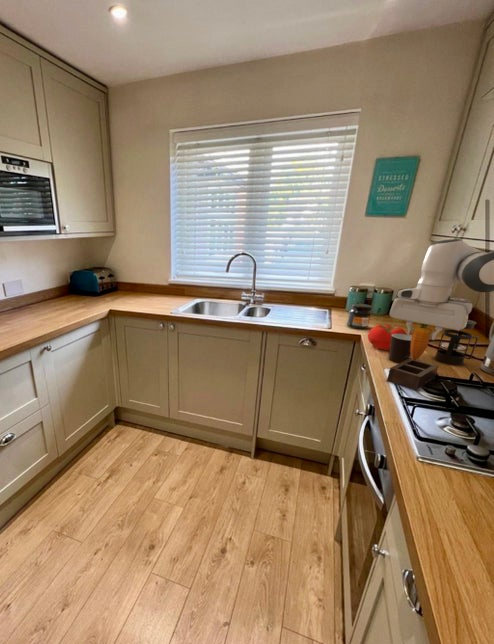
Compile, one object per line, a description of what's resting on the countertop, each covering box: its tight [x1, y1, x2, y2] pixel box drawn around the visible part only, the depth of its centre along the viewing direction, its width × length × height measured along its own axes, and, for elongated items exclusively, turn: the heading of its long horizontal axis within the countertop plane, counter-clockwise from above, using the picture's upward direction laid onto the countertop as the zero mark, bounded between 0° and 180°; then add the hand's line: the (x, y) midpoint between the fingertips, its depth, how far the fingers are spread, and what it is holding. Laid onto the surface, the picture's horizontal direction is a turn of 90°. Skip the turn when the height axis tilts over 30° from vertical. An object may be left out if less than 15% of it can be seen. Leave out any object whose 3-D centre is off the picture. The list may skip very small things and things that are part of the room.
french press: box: [433, 319, 479, 366], centre depth 129 cm, size 12×9×23 cm
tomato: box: [367, 324, 408, 351], centre depth 145 cm, size 14×16×10 cm
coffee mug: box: [388, 334, 412, 364], centre depth 131 cm, size 12×9×10 cm
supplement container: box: [346, 303, 373, 330], centre depth 176 cm, size 10×10×12 cm
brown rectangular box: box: [386, 357, 439, 392], centre depth 114 cm, size 9×16×5 cm, turn 127°
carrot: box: [410, 323, 433, 361], centre depth 107 cm, size 5×5×15 cm
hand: (420, 337), depth 107 cm, fingers closed on carrot, 4 cm apart
